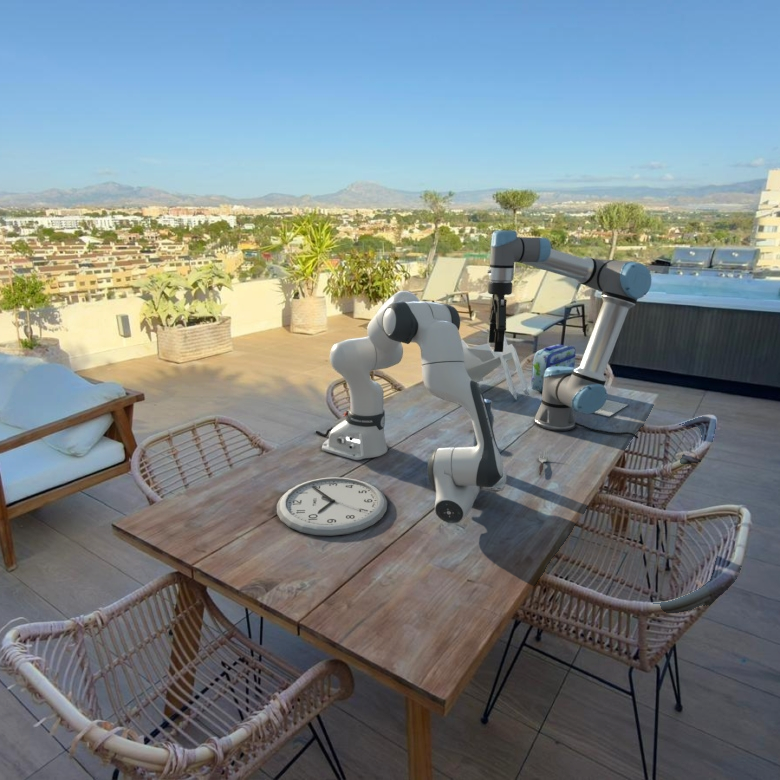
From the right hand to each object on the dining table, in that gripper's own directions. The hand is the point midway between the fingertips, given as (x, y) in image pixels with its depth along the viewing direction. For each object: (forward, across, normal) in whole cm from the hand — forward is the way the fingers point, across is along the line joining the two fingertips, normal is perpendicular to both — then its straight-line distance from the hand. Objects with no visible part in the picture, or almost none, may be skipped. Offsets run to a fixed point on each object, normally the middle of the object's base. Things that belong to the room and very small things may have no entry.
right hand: (495, 347), depth 172 cm
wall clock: (+36, +44, -48) cm, 74 cm away
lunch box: (+36, -73, +39) cm, 90 cm away
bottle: (+36, +18, -4) cm, 40 cm away
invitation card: (+36, -49, +55) cm, 82 cm away
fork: (+36, +14, +16) cm, 41 cm away
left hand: (+29, +29, -8) cm, 41 cm away
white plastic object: (+36, -64, +4) cm, 73 cm away
